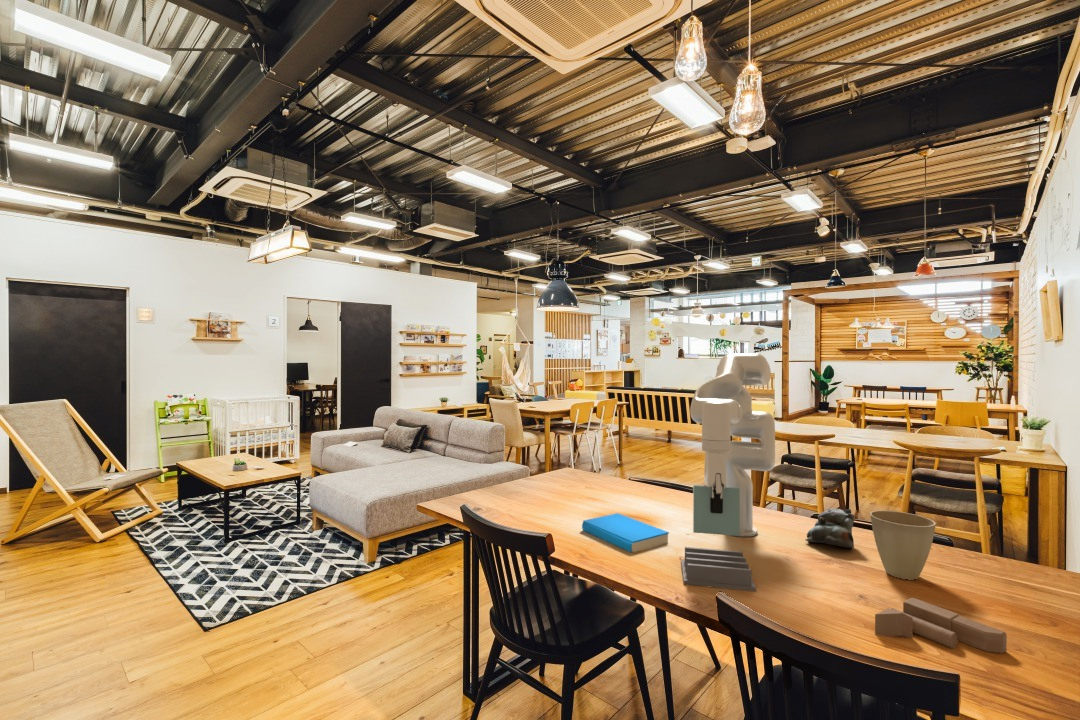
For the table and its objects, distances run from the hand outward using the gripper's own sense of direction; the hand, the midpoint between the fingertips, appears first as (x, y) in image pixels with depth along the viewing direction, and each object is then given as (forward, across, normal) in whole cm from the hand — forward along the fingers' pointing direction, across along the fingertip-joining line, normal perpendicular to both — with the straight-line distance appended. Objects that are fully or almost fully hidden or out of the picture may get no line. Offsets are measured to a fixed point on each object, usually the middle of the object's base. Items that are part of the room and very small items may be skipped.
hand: (716, 511), depth 138 cm
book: (+19, -26, -27) cm, 42 cm away
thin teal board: (+6, 0, 0) cm, 6 cm away
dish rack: (+18, 0, 0) cm, 18 cm away
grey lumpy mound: (+18, -34, +39) cm, 55 cm away
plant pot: (+18, -13, +51) cm, 56 cm away
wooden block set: (+19, +23, +42) cm, 51 cm away
